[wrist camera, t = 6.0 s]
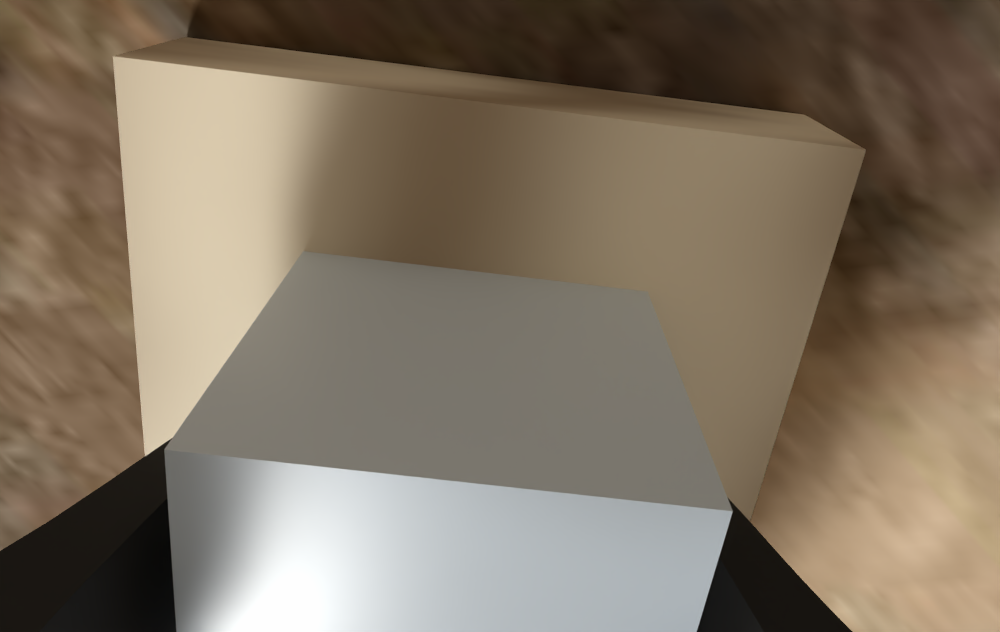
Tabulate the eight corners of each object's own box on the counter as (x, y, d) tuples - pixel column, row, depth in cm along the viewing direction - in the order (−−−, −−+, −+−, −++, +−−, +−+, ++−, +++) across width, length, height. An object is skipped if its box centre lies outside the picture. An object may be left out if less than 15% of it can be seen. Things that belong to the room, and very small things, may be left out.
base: (804, 114, 13) (866, 150, 11) (675, 584, 17) (700, 680, 15) (184, 36, 13) (112, 56, 10) (206, 535, 17) (158, 626, 15)
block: (647, 291, 12) (732, 511, 7) (590, 558, 14) (628, 859, 9) (303, 251, 11) (164, 450, 7) (298, 527, 14) (189, 819, 9)
